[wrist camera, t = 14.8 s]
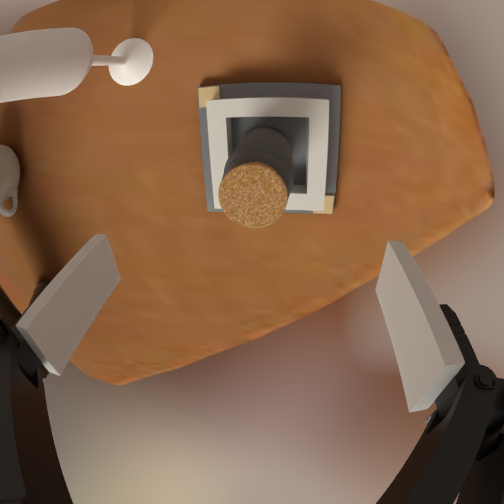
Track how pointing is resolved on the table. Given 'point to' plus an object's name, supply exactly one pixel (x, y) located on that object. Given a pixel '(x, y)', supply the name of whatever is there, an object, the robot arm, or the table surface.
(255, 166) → the bottle
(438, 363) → the robot arm
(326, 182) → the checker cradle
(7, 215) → the teacup
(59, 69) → the champagne flute
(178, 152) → the table surface
